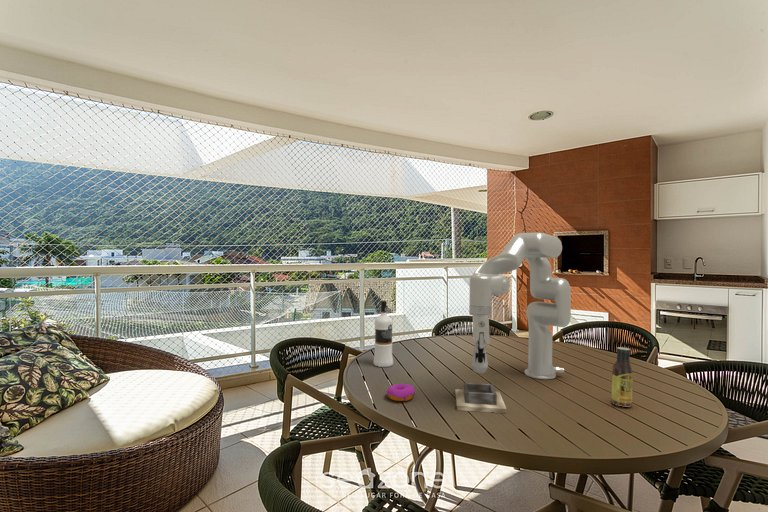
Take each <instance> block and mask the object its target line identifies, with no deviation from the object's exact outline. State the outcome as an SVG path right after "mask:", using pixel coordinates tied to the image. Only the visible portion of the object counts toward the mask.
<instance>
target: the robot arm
mask: <svg viewBox="0 0 768 512" xmlns="http://www.w3.org/2000/svg"><path fill="white" fill-rule="evenodd" d="M562 251H563V245H562V241H561V240H560V238H559V237H557V236H554V235H552V234H551V235H550V234H547V233H543V232H519V233H516V234H514V235H513V236H512V238H511V239H510V240H509V241H508V243H507V244H506V245H505V246H504V248H503V249H502V251H501V252H500V253H499V254H497V255H495V256H493V257H491V258H490V259H488V260H485V261H484V262H483V263H481V264H480V265H479V266H478V267H477V268H476V270H475V271H474V272H473V273H472V276H471V277H469V302H468V303H469V311H468V312H469V313H468V314H469V315H470V316H472V339H473V342H474V345H475V344H476V352H475V363H476V359H477V358H478V362H479V363H482V362H483V359H484V362H485V350H486V345H487V346H489V345H490V318H489V317H491V316H492V298H493V297H492V296H504V295H506V294H507V292H509V290H510V287H511V286H510V285H511V284H510V280H509V278H507V276H505V275H502V274H504V273H510V272H512V271H515V270H518V269H519V268H520V267H521V265H522V263H523V262H524V260H525V259H526V261H527V263H528V265H529V279H530V280H529V289H530V290H529V291H530V295H531V297H533V298H534V299H538V300H547V301H555V303H554V302H545V301H534V302H533V301H532V302H530V303H529V304H528V305H527V307H526V318H527V323H528V325H527V326H528V358H527V360H528V362H527V363H528V367H527V368H526V369H524V375H525V376H527V377H529V378H533V379H538V380H553V379H555V378H557V373H560V374H561V373H563V374H564V373H565V369H564V367H559V366H554V365H553V333H552V330H551V329H550V327H559V328H565V327H568V325H569V324H570V323H571V318H572V317H571V316H572V315H571V314H572V313H571V312H572V311H571V310H572V309H571V308H572V307H571V306H572V304H571V303H572V302H571V301H572V298H571V296H572V295H571V293H572V291H571V289H572V288H571V285H570V282H569V281H568V280H567V279H566V278H563V277H553V276H552V265H551V262H550V261H549V259H550V258H551V259H552V258H553V259H554V258H555V259H556V258H558V257H559V256H560V255H561V253H562ZM549 326H550V327H549ZM478 342H479V344H478ZM478 346H479V347H478Z"/></svg>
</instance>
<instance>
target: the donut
mask: <svg viewBox="0 0 768 512" xmlns="http://www.w3.org/2000/svg"><path fill="white" fill-rule="evenodd" d="M414 394H416V390H415V387H414V386H413V385H411V384H407V383H396V384H393V385H390V386H389V387H388V388H387V389H386V396H387V397H388V399H390V400H392V401H395V402H407V401H411V400H412V399H413V397H414Z"/></svg>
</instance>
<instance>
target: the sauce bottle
mask: <svg viewBox="0 0 768 512" xmlns="http://www.w3.org/2000/svg"><path fill="white" fill-rule="evenodd" d="M630 355H631V349H630V348H628V347H622V346H621V347H619V346H618V347H616V361H615V362H614V364H613V365H612V373H611V396H610V398H611V401H610V402H611V404H612V403H614V404H617V405H622V406H630V405H631V406H632V405H633V404H632V403H633V387H634V385H633V384H634V372H633V369H632V366H631V359H630Z"/></svg>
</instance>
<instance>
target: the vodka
mask: <svg viewBox="0 0 768 512" xmlns="http://www.w3.org/2000/svg"><path fill="white" fill-rule="evenodd" d="M387 312H388V310H387V300H381V301H380V315H378V316H377V317H376V318H375V320H374V357H373V361H372V362H373V365H374V366H375V367H377V366H378V367H377V368H389V367H391V366H393V365H394V358H393V344H394V343H393V321H394V320H393V319H392V318H391V317H390V316H389V315H388V314H387Z"/></svg>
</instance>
